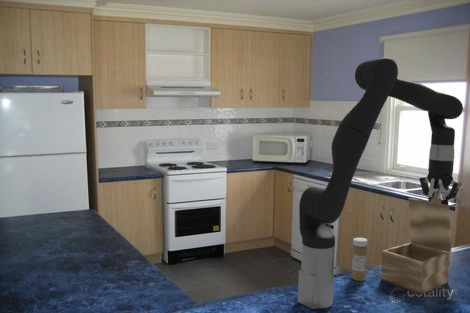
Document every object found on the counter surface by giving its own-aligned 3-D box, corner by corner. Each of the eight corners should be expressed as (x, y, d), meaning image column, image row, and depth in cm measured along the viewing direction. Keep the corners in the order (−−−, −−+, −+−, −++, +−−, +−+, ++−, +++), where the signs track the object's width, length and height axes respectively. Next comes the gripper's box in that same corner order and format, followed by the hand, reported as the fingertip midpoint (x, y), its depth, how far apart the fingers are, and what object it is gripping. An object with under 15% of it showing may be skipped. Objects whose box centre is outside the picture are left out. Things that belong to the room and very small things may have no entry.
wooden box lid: (448, 205, 147) (459, 198, 151) (408, 197, 158) (420, 191, 162) (450, 252, 151) (461, 245, 155) (411, 242, 162) (422, 235, 166)
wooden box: (419, 294, 142) (421, 262, 141) (380, 280, 154) (382, 250, 153) (448, 283, 152) (450, 253, 151) (409, 270, 163) (411, 242, 162)
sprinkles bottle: (357, 275, 158) (358, 236, 156) (368, 279, 154) (370, 239, 153) (348, 278, 155) (350, 238, 153) (360, 282, 151) (362, 241, 150)
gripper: (415, 156, 159) (412, 207, 160) (456, 161, 147) (452, 215, 149) (427, 155, 163) (424, 204, 165) (468, 160, 152) (464, 212, 154)
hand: (437, 209), depth 157 cm, fingers closed on wooden box lid, 3 cm apart
